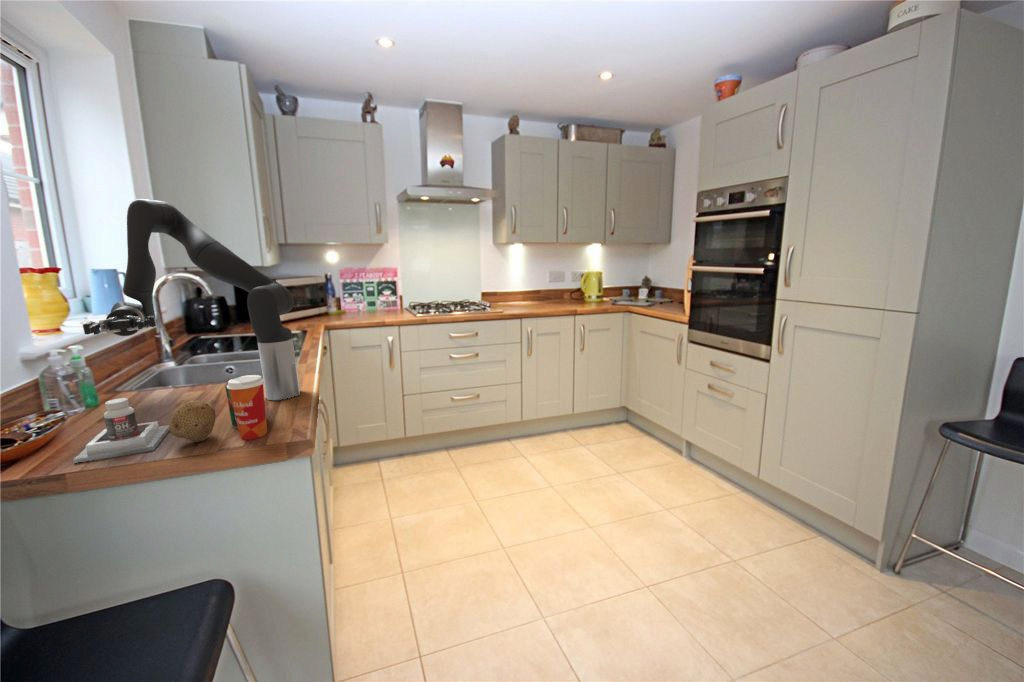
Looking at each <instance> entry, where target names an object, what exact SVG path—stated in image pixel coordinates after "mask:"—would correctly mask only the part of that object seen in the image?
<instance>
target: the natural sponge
mask: <svg viewBox="0 0 1024 682" xmlns="http://www.w3.org/2000/svg"><path fill="white" fill-rule="evenodd" d="M216 416H217V415H216V410H215V408H214V407H213V405H211V404H210V403H208V402H206V401H204V400H199V399H198V400H197V399H196V400H187V401H185V402H183V403H182V404H180V405H178V406H177V407H176V408H175V410H174V411H173V413H172V415H171V417H170V420H169V424H168V425H169V432H170V434H171V435H172V436H173V437H176V438H181V439H186V440H189V441H190V442H195V443H200V442H203V441H205V440H206V439H207V438H208V437H209V436H211V434H212V431H213V429H214V427H215V422H216Z"/></svg>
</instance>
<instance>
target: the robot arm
mask: <svg viewBox="0 0 1024 682" xmlns="http://www.w3.org/2000/svg"><path fill="white" fill-rule="evenodd" d="M152 233H155V234H156V233H157V234H165V235H168V236H170V237H171V238H173V239H175V240H176V241H177V242H178V243H180V244H181V245H182V246H183V247H184V248H185V251H186V254H187V256H188V258H189V260H190V261H191V262H192V264H194V265H195V266H196V267H197V268H199V269H200V270H202V271H203V272H204V273H206V274H207V275H209V276H211V278H213V279H216V280H218V281H220V282H223V283H226V284H228V285H231V286H234V287H237V288H239V289H242V290H244V291H246V292H247V293H248V294H247V300H246V304H247V305H246V306H247V310H248V316H249V320H250V325H251V330H252V331H253V334H254V335H255V337H256V341H257V348H258V354H259V359H260V360H259V361H260V367H261V372H262V373H261V374H262V375H261V376H262V380H264V383H263V389H264V395H265V398H267V399H266V400H269V401H282V399H283V400H287V398H288V399H292V398H295V397H299V396H298V395H301V387H300V381H299V375H298V374H299V373H298V366H297V365H298V364H297V361H296V355H295V347H294V340H293V334H292V329H291V328H289V327H287V326H286V327H285V326H284V325H283V324H282V321H281V318H280V316H283V315H285V314H288V313H289V312H291V310H293V308H294V303H295V301H294V300H295V299H294V297H293V295H292V293H291V291H290V290H289V289H288V288H287V287H286V286H284V285H283V284H281V283H279V282H277V281H276V280H274V279H273V278H271V277H269V276H267V275H266V274H264V273H262V272H260V270H257V269H256V268H255V267H253V266H252V265H251V264H249V263H248V262H247V261H245V260H244V259H242V258H241V257H240V256H239V255H238V254H235V252H233V251H232V250H230V249H229V248H228V247H227V246H225V245H224V244H222V243H221V242H219V240H217V239H214V237H212V236H210V235H209V233H206V232H205V231H204V230H202V229H201V228H199V227H198V226H197V225H196V224H194V223H193V222H192V221H191V220H190V219H189V218H188V217H186V216H185V215H184V214H183V213H182V212H181V211H180V210H179V209H177V208H176V207H175V206H174V205H172V204H171V203H169V202H166V201H163V200H156V199H145V198H137V199H134V200H132V201H131V202H130V203H129V205H128V208H127V213H126V235H127V236H126V243H127V245H126V246H127V263H126V264H127V266H126V271H125V276H124V283H123V288H122V293H123V294H124V296H126V297H128V298H130V299H133V300H135V301H137V302H139V303H140V304H139V303H134V302H133V303H132V302H127V301H118V302H116V303H114V304H113V306H112V307H111V309H110V312H109V313H108V314H107V316H106V318H105V319H100V320H98V322H96V321H91V320H90V321H89V322H85V323H83V324H82V328H83V332H84V335H90V334H93V335H99V334H109V333H112V334H114V335H117V336H119V337H129V336H133V335H135V334H137V333H139V331H140V330H143V329H148V328H155V327H156V326H157V322H156V312H155V307H154V302H153V297H154V295H153V293H154V289H155V284H156V278H157V271H156V265H155V263H154V261H153V259H152V256H151V253H150V249H149V244H150V243H149V242H150V237H151V235H152ZM294 396H295V397H294ZM291 397H292V398H291Z"/></svg>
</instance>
